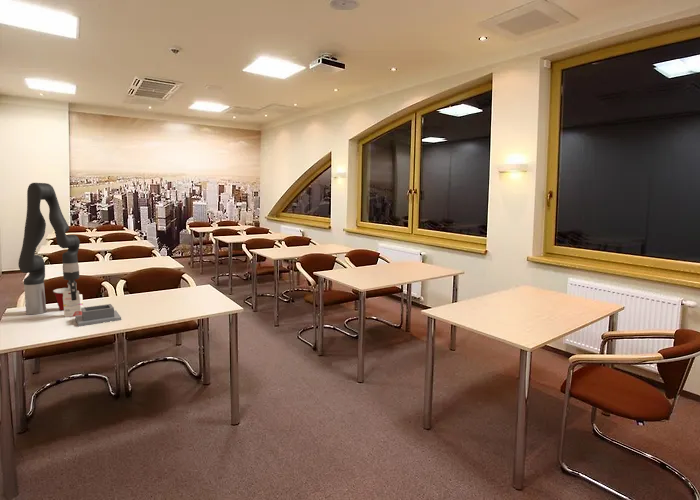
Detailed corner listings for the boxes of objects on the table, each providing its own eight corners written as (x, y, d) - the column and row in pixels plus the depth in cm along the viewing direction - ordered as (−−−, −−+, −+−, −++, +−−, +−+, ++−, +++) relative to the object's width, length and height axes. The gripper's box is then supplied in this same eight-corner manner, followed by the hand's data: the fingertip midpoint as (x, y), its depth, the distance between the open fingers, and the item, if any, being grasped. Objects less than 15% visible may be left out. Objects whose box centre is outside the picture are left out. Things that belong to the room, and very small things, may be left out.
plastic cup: (65, 312, 243) (64, 292, 241) (50, 311, 245) (48, 291, 243) (81, 307, 253) (79, 288, 252) (65, 306, 255) (64, 287, 254)
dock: (78, 326, 218) (77, 314, 217) (75, 318, 232) (74, 307, 231) (121, 320, 230) (120, 308, 230) (116, 312, 244) (115, 301, 243)
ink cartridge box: (84, 313, 241) (82, 288, 239) (81, 316, 236) (79, 290, 234) (67, 314, 239) (65, 289, 237) (63, 317, 234) (62, 291, 232)
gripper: (62, 269, 237) (64, 297, 240) (63, 273, 226) (66, 302, 228) (77, 268, 242) (79, 295, 244) (80, 271, 231) (82, 300, 233)
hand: (73, 298), depth 236 cm, fingers open, 8 cm apart
